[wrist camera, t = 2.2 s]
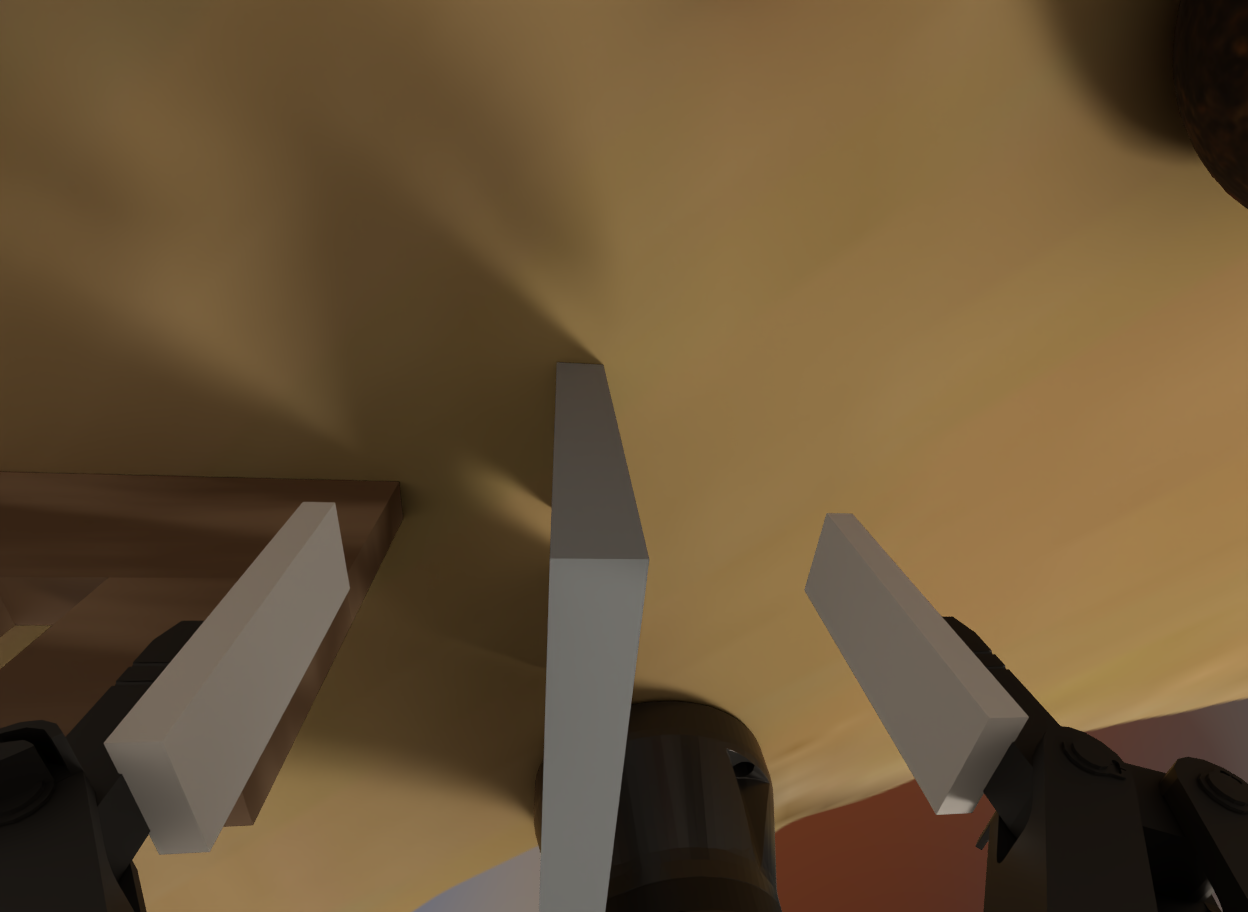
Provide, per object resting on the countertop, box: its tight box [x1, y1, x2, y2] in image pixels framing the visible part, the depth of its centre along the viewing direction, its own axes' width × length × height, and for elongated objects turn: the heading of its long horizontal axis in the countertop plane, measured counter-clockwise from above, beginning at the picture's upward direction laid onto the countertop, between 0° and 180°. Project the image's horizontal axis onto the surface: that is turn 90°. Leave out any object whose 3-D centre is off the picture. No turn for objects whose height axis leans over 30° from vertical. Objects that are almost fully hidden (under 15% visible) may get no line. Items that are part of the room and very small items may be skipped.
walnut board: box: [0, 472, 403, 827], centre depth 18 cm, size 2×18×14 cm, turn 85°
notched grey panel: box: [539, 362, 649, 912], centre depth 21 cm, size 18×2×14 cm, turn 175°
